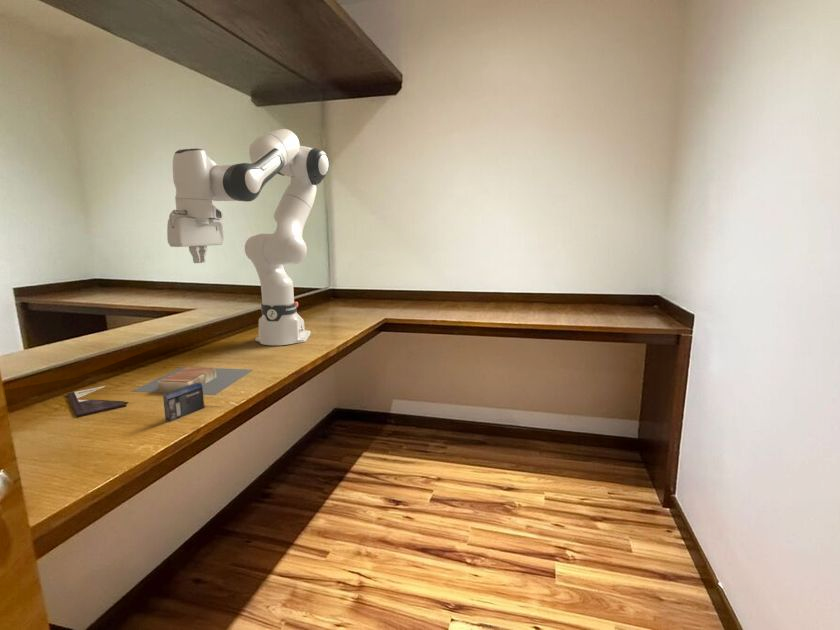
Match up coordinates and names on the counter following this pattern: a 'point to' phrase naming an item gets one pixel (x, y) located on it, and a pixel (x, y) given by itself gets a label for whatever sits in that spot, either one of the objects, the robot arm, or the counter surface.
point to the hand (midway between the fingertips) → (199, 262)
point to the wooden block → (186, 378)
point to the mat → (210, 388)
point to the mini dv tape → (183, 401)
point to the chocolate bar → (91, 403)
